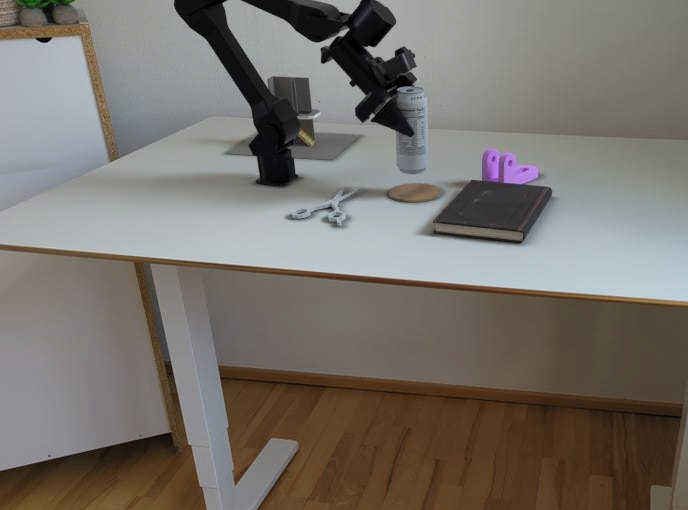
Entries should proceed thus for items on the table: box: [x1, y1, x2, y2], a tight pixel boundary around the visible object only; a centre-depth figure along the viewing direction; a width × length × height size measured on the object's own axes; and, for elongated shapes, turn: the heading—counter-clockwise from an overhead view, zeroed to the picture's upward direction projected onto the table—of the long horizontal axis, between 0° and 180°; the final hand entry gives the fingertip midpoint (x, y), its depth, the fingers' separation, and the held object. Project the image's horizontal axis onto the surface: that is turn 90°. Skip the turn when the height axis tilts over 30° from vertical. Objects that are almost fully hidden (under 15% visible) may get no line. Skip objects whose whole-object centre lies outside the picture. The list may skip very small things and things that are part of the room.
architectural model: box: [225, 75, 360, 161], centre depth 180 cm, size 20×25×15 cm
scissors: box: [290, 184, 364, 227], centre depth 149 cm, size 11×1×20 cm
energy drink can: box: [394, 86, 429, 175], centre depth 148 cm, size 6×6×15 cm
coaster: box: [388, 182, 441, 203], centre depth 154 cm, size 10×10×1 cm
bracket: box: [481, 147, 539, 184], centre depth 159 cm, size 13×6×7 cm, turn 139°
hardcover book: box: [432, 179, 553, 244], centre depth 143 cm, size 16×23×2 cm
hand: (418, 131), depth 148 cm, fingers closed on energy drink can, 6 cm apart
